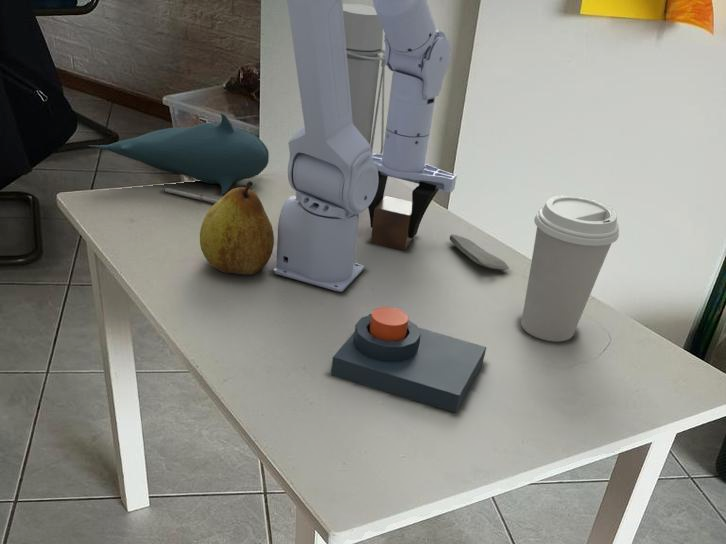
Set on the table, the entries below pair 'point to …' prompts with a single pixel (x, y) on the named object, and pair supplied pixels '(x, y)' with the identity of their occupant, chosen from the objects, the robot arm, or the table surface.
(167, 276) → the table surface
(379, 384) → the grey base slab
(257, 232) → the fruit
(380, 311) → the lid button
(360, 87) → the water bottle
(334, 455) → the table surface
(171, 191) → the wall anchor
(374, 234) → the walnut block
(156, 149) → the toy
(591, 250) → the coffee cup
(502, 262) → the decorative stone
